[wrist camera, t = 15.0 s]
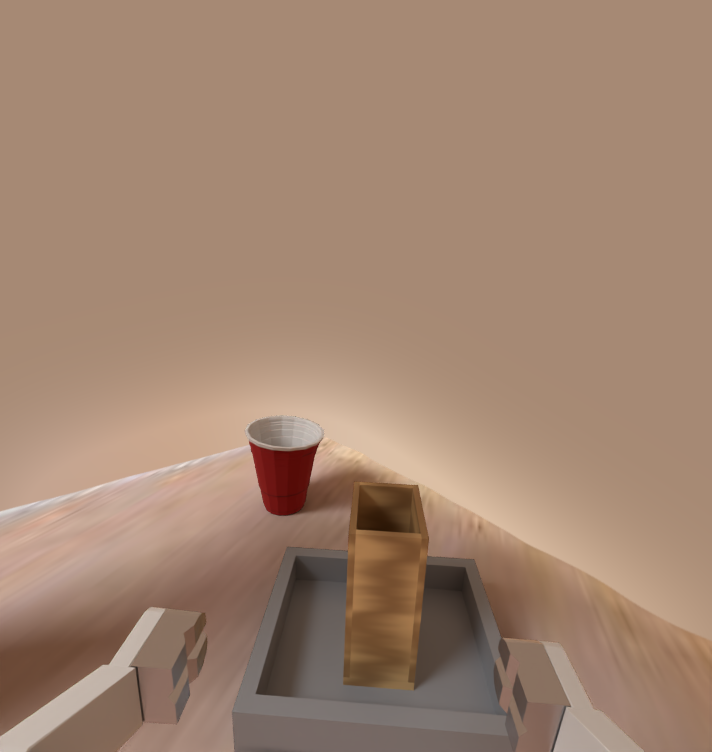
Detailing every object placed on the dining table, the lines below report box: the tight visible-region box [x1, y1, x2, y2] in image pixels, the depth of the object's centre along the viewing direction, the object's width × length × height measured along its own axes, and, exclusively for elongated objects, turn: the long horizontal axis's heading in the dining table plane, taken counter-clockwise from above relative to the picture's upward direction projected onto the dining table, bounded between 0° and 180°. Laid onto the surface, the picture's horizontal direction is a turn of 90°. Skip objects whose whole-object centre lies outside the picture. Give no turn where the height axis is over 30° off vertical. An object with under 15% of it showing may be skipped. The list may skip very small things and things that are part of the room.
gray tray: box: [232, 547, 513, 752], centre depth 33 cm, size 20×16×4 cm
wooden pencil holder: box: [343, 482, 429, 691], centre depth 31 cm, size 6×7×14 cm
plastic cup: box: [245, 416, 324, 515], centre depth 53 cm, size 11×11×12 cm
